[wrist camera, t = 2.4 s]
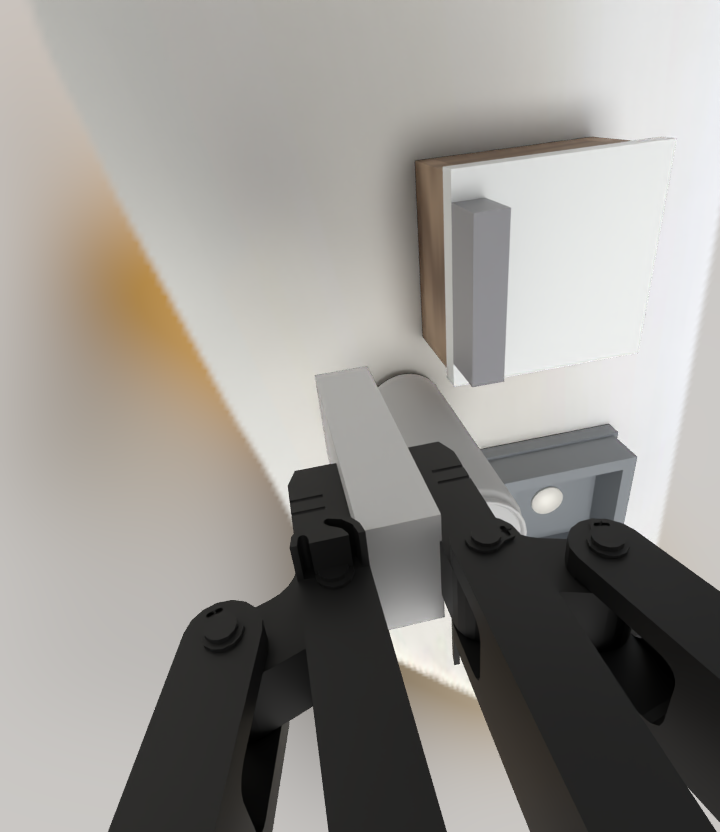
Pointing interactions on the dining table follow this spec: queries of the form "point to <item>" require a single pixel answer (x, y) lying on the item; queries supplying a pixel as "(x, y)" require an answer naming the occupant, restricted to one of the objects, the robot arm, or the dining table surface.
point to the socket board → (566, 478)
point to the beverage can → (446, 438)
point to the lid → (550, 257)
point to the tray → (433, 227)
